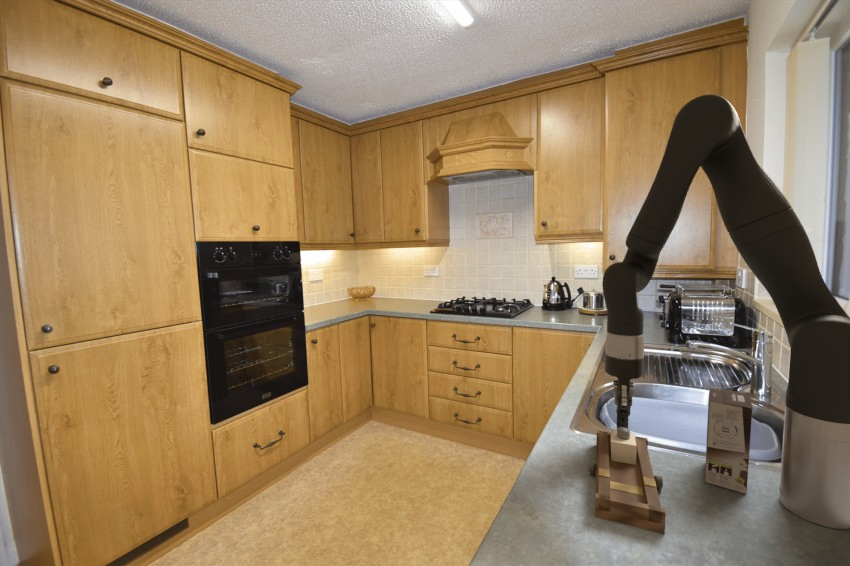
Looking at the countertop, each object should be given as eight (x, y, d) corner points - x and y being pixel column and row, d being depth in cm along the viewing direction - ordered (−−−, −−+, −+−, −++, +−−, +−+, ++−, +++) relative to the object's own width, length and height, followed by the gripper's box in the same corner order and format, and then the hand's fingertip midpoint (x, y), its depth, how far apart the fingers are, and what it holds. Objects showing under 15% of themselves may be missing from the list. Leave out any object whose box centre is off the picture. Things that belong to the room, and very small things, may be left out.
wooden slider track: (653, 454, 84) (653, 438, 84) (673, 536, 61) (674, 513, 60) (590, 443, 89) (591, 428, 89) (587, 515, 66) (587, 494, 65)
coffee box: (748, 495, 70) (753, 408, 69) (704, 482, 74) (708, 400, 73) (745, 471, 77) (750, 392, 76) (705, 461, 81) (709, 386, 80)
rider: (633, 450, 83) (634, 425, 82) (636, 465, 77) (636, 438, 77) (610, 446, 85) (610, 421, 84) (611, 460, 79) (611, 433, 79)
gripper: (646, 363, 77) (644, 446, 79) (641, 347, 89) (638, 420, 91) (605, 359, 81) (603, 439, 82) (605, 344, 93) (603, 415, 94)
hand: (622, 429), depth 86 cm, fingers closed
